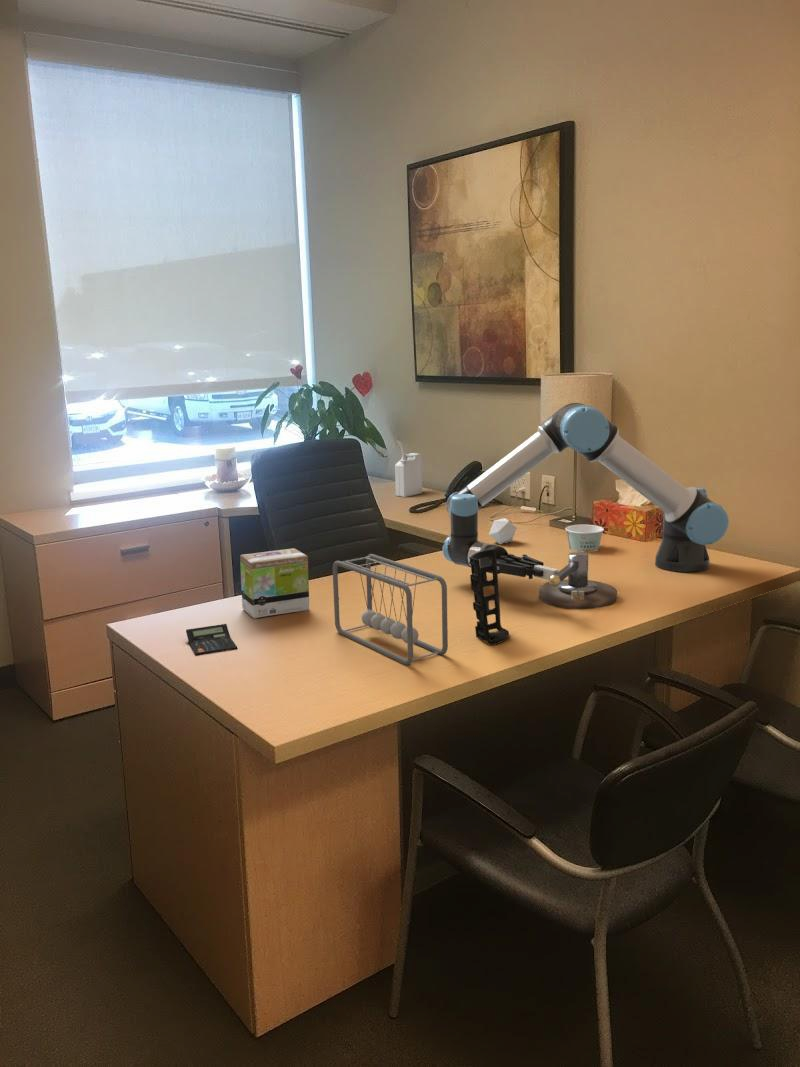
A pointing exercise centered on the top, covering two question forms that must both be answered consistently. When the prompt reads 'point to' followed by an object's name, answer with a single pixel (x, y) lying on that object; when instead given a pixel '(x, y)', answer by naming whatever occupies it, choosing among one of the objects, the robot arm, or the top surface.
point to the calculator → (210, 639)
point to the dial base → (579, 597)
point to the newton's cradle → (381, 621)
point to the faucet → (574, 575)
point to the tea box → (274, 582)
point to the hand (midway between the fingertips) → (555, 575)
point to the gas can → (408, 474)
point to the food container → (584, 537)
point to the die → (502, 531)
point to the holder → (486, 598)
